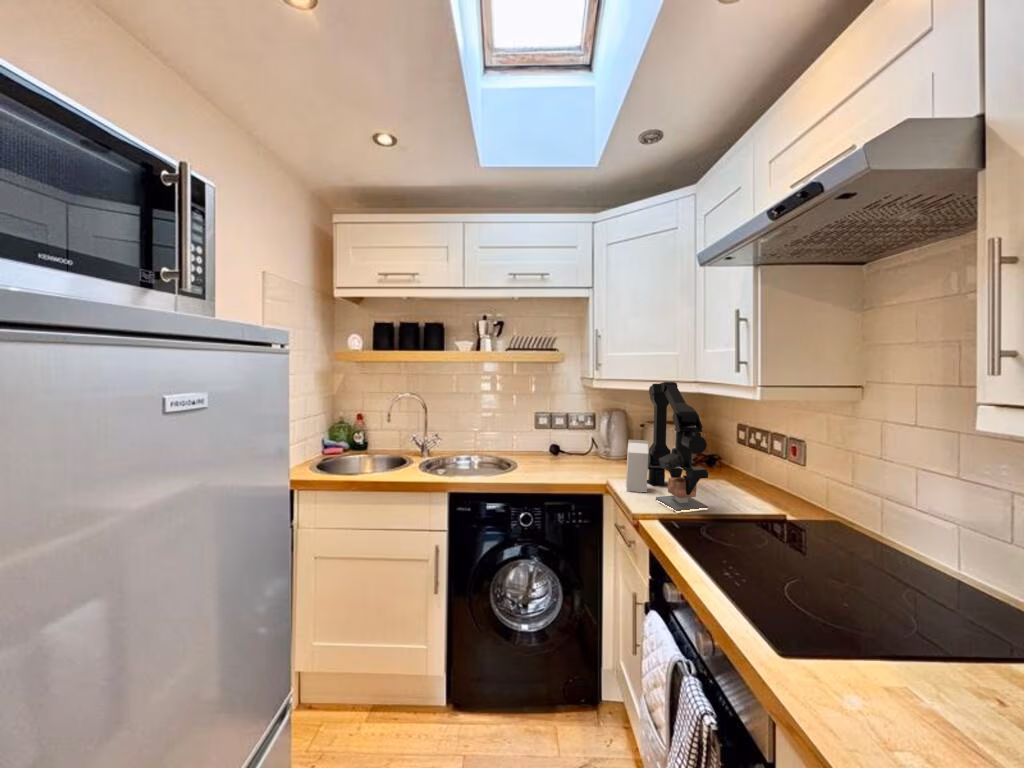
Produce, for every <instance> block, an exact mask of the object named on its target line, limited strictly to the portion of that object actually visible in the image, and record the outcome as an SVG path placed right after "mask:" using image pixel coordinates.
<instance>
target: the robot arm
mask: <svg viewBox="0 0 1024 768" xmlns="http://www.w3.org/2000/svg"><path fill="white" fill-rule="evenodd" d="M648 394H649V398H650V399H649V400H650V402H651V403H652V404H653V407H654V408H653V435H652V437H653V440H652V441H653V442H652V443H651V446H650V447H648V474H647V484H649V485H651V486H652V487H657V486H658V487H659V486H668V482H665V480H666V471H667V472H668V473H669V475H670V478H676V477H684V478H685V479H686V494H687V495H690V494H691V492H692V490H693V489H694V487H695V485H696V486H697V484H698V483H699V481H700V480H701V479H709V470H707V468H704V467H701V466H696V462H695V461H693V458H694V455H699V454H702V453H704V452H705V450H706V449H707V445H708V444H707V440H706V438H704V437H703V436H702V433H703V424H702V422H701V419H700V416H699V413H698V411H696V410H695V408H694V407H693V406H691V405H689V404H688V403H686V401H685V398H684V397H683V395H682V393H681V392H680V389H679V388H678V383H677V382H675V381H663V382H660V383H652V384H651V386H649V389H648ZM669 405H670V407H671V409H672V411H673V414H672V416H671V417H672V422H673V425H674V427H675V428H674V431H675V445H674V447H675V448H672V449H670V448H669V447H668V445H667V423H668V422H667V419H668V418H667V417H668V416H667V415H668V414H667V413H668V406H669ZM683 471H685V474H684V475H682V474H683Z"/></svg>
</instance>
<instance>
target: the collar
mask: <svg viewBox="0 0 1024 768" xmlns="http://www.w3.org/2000/svg"><path fill="white" fill-rule="evenodd" d="M667 484H668V485H667V492H668V493H669V494H671V496H673V495H674V496H676V497H678V498H688V497H691V498H696V496H697V484H696V485H695V487H694V489H693V490H692V492H691V494H690V495H687V494H686V479H685V478H684V477H683V476H681V477H676V478H671V477H668V482H667Z"/></svg>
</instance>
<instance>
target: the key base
mask: <svg viewBox="0 0 1024 768" xmlns="http://www.w3.org/2000/svg"><path fill="white" fill-rule="evenodd" d="M656 500H658V501H660V502H662V503H664V504H665V505H667V506H669V507H671V508H673V509H674V510H676V511H681V510H690V509H699V508H708V509H709V506H708V505H707V504H705V503H703V502H701V501H698V500H697V499H695V498H694V497H688V498H678V497H676V496H674V495H664V496H662V495H661V496H655V501H656Z"/></svg>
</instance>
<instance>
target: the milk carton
mask: <svg viewBox="0 0 1024 768" xmlns="http://www.w3.org/2000/svg"><path fill="white" fill-rule="evenodd" d="M626 451H627V453H626V454H627V455H626V456H627V458H626V473H625V475H626V476H625V477H626V478H625V487H626V491H627V492H630V491H636V492H635V493H642V492H646V493H647V489H648V483H647V480H648V473H649V469H648V453H649V440H643V439H642V440H641V439H640V440H639V439H628V441H627V450H626Z"/></svg>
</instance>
